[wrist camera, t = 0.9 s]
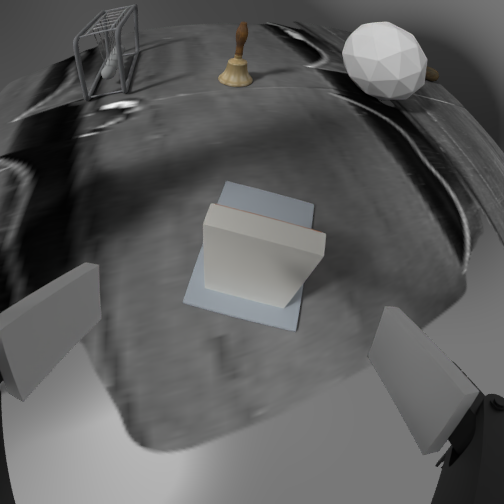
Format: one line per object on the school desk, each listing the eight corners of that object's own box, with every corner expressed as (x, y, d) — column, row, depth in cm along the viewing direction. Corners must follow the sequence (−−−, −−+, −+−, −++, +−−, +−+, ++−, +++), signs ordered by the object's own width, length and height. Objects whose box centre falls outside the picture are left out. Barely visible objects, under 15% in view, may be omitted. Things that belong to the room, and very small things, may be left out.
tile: (283, 308, 35) (324, 256, 23) (204, 287, 35) (203, 224, 23) (287, 290, 36) (326, 231, 24) (210, 270, 36) (212, 200, 24)
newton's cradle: (107, 57, 64) (102, 9, 49) (139, 51, 67) (137, 2, 51) (85, 105, 51) (71, 39, 36) (127, 96, 53) (119, 28, 38)
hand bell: (221, 71, 62) (227, 16, 48) (254, 75, 63) (263, 21, 49) (215, 84, 58) (220, 24, 44) (250, 89, 59) (261, 29, 45)
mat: (294, 331, 34) (295, 331, 34) (183, 303, 34) (183, 302, 34) (313, 205, 44) (314, 204, 44) (226, 182, 44) (226, 180, 44)
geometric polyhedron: (345, 113, 75) (313, 42, 57) (375, 73, 78) (351, 11, 59) (420, 126, 59) (400, 40, 41) (439, 82, 62) (423, 11, 44)
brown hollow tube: (426, 76, 95) (431, 65, 90) (436, 84, 93) (441, 74, 87) (407, 70, 91) (412, 59, 86) (417, 79, 89) (423, 67, 83)
